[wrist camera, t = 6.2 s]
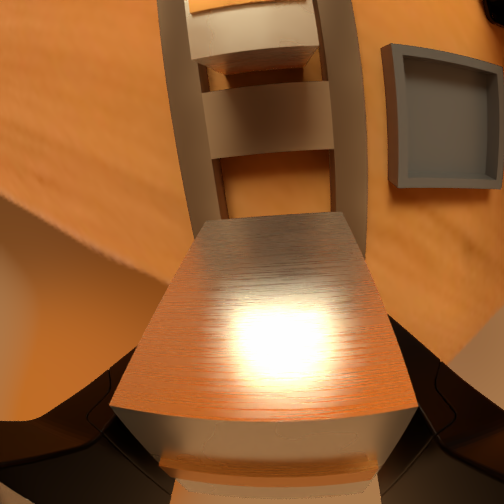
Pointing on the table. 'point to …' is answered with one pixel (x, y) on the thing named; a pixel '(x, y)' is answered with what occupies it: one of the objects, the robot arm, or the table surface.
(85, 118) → the table surface
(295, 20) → the block
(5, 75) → the table surface
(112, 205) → the table surface
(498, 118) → the grey tray
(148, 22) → the table surface
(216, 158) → the grey flat frame
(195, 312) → the block
